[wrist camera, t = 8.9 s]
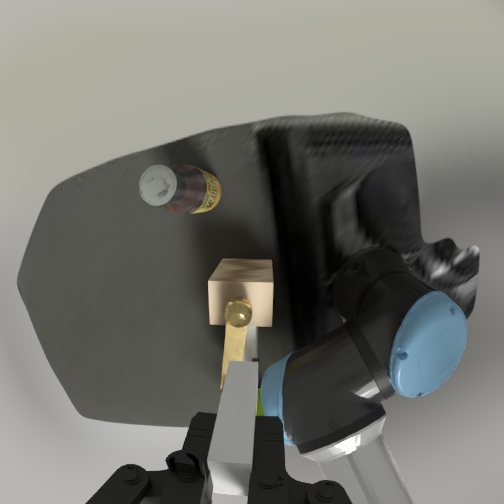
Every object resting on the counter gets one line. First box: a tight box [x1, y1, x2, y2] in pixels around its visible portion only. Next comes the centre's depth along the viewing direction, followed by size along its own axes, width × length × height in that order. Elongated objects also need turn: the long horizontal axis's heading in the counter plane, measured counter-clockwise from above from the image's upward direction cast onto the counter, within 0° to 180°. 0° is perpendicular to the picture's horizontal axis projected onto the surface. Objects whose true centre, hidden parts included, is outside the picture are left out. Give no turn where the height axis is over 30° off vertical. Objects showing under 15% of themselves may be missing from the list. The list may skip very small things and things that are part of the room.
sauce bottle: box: [139, 163, 222, 214], centre depth 34 cm, size 7×6×20 cm
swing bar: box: [221, 297, 253, 391], centre depth 33 cm, size 13×3×3 cm, turn 173°
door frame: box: [208, 259, 273, 381], centre depth 41 cm, size 8×20×15 cm, turn 179°
